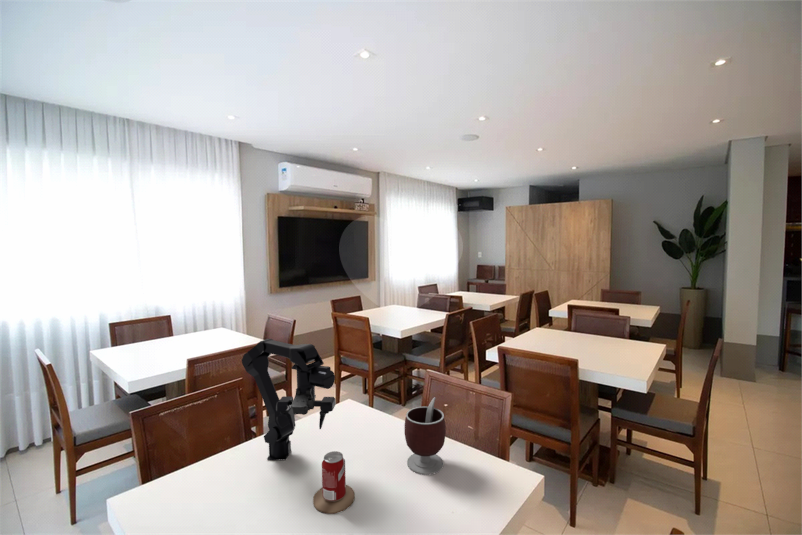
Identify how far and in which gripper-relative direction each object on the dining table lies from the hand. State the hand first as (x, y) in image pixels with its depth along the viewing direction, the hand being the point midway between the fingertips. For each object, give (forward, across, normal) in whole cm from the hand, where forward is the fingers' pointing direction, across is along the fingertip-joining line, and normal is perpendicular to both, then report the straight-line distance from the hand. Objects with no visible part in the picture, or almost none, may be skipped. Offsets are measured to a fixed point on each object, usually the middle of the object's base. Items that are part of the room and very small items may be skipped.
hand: (306, 428), depth 124 cm
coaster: (+13, +12, -16) cm, 24 cm away
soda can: (+12, +12, -16) cm, 24 cm away
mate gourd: (+13, +40, +3) cm, 42 cm away
